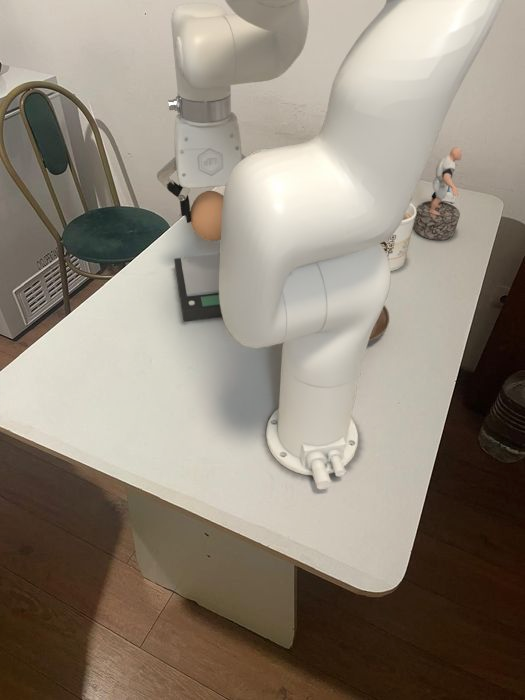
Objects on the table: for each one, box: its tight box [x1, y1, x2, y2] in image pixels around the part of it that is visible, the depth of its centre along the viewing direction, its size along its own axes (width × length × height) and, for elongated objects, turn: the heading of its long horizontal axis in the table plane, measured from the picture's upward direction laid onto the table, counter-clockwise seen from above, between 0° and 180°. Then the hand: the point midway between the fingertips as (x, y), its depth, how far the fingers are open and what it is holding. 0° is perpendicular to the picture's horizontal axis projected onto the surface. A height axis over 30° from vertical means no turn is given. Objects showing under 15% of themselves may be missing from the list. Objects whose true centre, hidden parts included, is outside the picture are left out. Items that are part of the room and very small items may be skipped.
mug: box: [380, 202, 417, 272], centre depth 100 cm, size 10×12×11 cm
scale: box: [173, 252, 223, 323], centre depth 94 cm, size 16×14×3 cm
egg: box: [189, 190, 224, 242], centre depth 87 cm, size 7×7×8 cm
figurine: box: [413, 146, 462, 241], centre depth 106 cm, size 15×9×18 cm, turn 166°
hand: (211, 216), depth 87 cm, fingers closed on egg, 7 cm apart
